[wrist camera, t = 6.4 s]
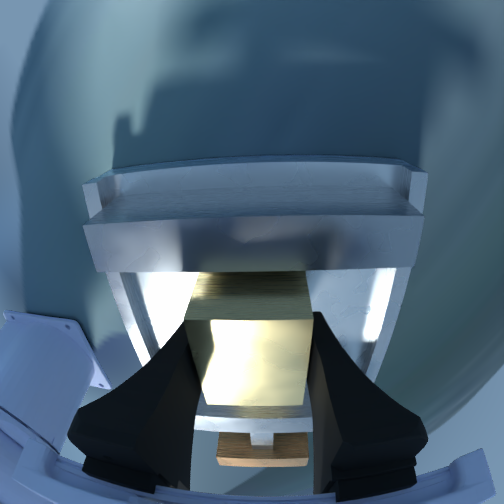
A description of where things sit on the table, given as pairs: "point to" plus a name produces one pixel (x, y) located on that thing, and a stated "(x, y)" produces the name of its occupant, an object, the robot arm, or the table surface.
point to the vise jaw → (258, 432)
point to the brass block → (251, 336)
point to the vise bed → (322, 284)
